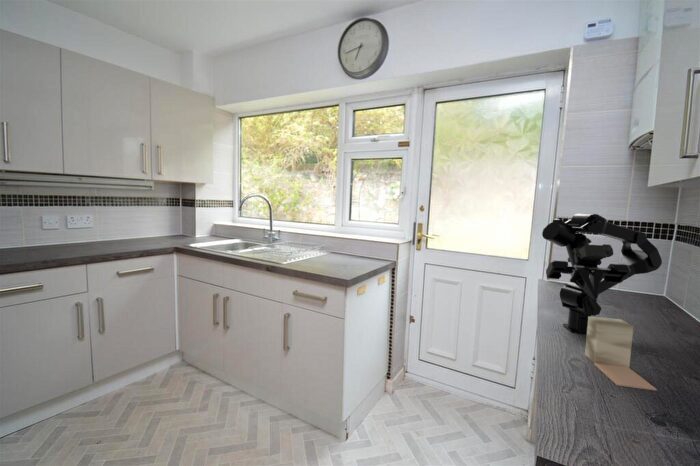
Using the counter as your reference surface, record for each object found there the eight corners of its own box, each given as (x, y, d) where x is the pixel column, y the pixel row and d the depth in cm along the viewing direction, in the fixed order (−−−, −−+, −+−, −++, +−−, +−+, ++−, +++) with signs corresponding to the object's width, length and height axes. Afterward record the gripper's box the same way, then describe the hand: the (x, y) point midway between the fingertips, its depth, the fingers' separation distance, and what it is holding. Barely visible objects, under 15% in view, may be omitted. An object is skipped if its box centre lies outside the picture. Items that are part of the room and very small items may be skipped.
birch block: (584, 354, 81) (588, 316, 81) (616, 358, 80) (620, 319, 79) (595, 363, 77) (598, 323, 76) (629, 367, 75) (633, 326, 74)
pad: (593, 364, 76) (593, 362, 76) (628, 368, 75) (628, 367, 75) (616, 385, 67) (616, 384, 67) (656, 390, 65) (656, 389, 65)
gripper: (552, 232, 90) (566, 278, 81) (630, 235, 86) (654, 284, 76) (541, 255, 99) (551, 300, 89) (611, 259, 94) (630, 307, 85)
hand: (595, 298), depth 84 cm, fingers closed
